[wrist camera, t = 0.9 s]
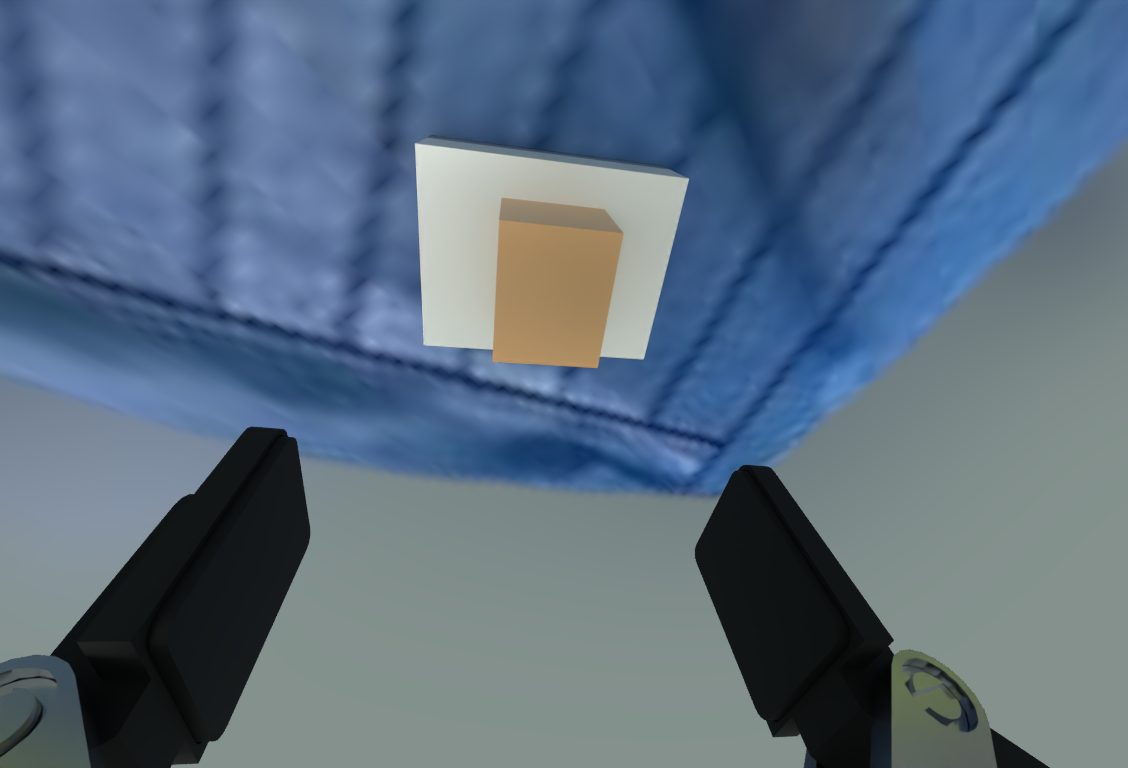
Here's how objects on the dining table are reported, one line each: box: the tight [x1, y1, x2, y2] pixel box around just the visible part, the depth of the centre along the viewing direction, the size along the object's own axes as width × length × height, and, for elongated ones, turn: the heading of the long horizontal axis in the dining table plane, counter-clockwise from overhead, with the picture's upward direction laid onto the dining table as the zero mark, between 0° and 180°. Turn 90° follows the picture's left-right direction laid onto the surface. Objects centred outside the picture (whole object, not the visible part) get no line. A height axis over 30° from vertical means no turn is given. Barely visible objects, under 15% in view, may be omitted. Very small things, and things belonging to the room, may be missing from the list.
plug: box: [492, 198, 624, 368], centre depth 25 cm, size 6×7×8 cm
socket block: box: [415, 136, 689, 359], centre depth 28 cm, size 14×11×5 cm
